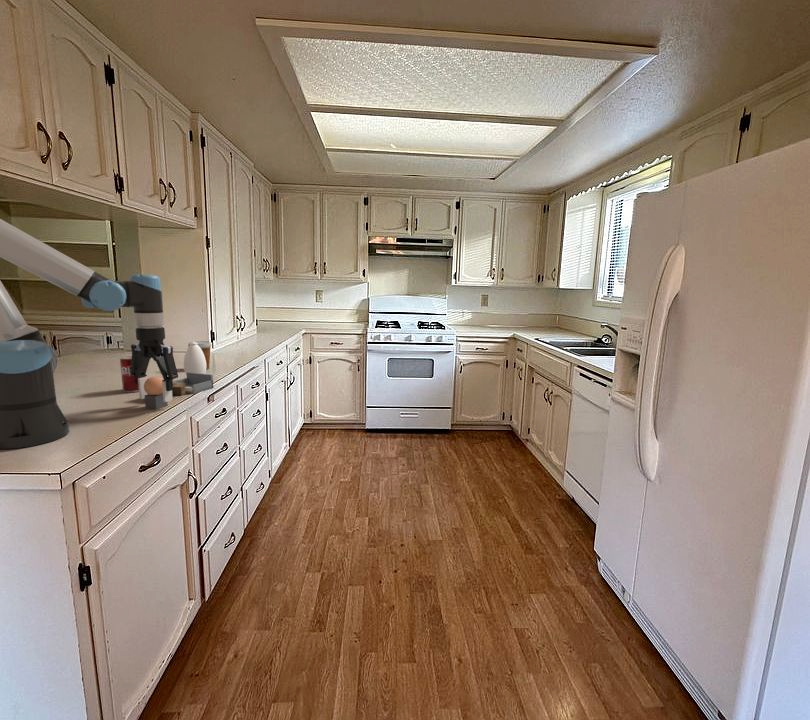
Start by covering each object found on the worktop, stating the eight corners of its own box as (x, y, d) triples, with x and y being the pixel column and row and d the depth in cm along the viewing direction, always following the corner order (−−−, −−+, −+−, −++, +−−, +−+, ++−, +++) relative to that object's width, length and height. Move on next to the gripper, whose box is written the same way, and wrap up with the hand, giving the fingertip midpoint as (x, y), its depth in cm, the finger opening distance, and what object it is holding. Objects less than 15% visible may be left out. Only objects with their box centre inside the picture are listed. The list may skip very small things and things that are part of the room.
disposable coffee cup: (200, 371, 182) (199, 344, 180) (184, 369, 186) (182, 343, 184) (217, 368, 191) (216, 342, 189) (201, 366, 194) (200, 340, 192)
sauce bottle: (210, 381, 165) (207, 336, 162) (189, 384, 160) (186, 337, 156) (202, 378, 170) (199, 334, 167) (182, 381, 165) (178, 335, 162)
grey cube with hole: (156, 409, 128) (155, 396, 127) (145, 407, 129) (144, 395, 128) (167, 405, 132) (166, 393, 131) (157, 404, 133) (156, 392, 132)
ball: (155, 399, 126) (153, 379, 125) (139, 397, 128) (138, 377, 127) (171, 394, 132) (170, 375, 131) (156, 392, 134) (155, 374, 133)
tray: (193, 393, 146) (193, 379, 146) (168, 390, 150) (167, 377, 149) (213, 387, 155) (212, 374, 154) (189, 385, 159) (188, 372, 158)
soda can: (125, 388, 152) (122, 355, 150) (149, 387, 154) (146, 355, 152) (120, 393, 145) (117, 359, 143) (144, 392, 148) (141, 358, 145)
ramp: (162, 401, 137) (161, 383, 136) (145, 399, 139) (144, 381, 138) (185, 394, 146) (184, 377, 145) (169, 392, 148) (168, 376, 147)
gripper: (188, 327, 127) (193, 399, 131) (133, 324, 133) (140, 393, 137) (167, 329, 120) (173, 406, 123) (111, 326, 126) (118, 399, 130)
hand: (156, 399), depth 130 cm, fingers open, 9 cm apart
